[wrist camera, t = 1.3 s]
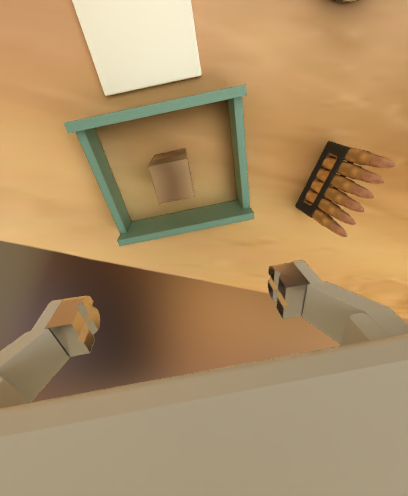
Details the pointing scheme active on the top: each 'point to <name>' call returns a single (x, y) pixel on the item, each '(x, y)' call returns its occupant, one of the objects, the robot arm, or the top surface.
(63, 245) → the top surface
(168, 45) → the board
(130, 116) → the box
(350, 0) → the ink bottle
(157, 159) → the walnut block
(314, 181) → the ammunition clip
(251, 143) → the top surface
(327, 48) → the top surface
